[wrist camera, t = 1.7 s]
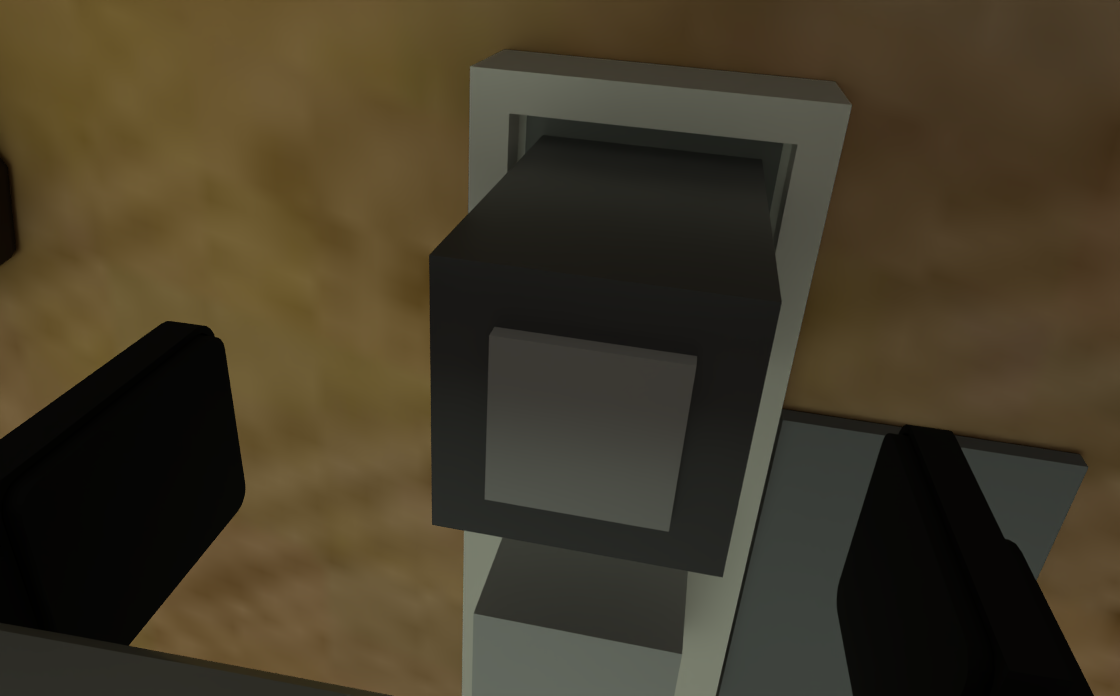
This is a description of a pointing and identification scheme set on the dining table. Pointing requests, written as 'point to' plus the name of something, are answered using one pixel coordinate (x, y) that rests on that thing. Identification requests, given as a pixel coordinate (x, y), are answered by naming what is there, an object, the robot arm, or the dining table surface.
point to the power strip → (797, 225)
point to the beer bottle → (5, 217)
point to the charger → (604, 351)
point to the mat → (825, 537)
